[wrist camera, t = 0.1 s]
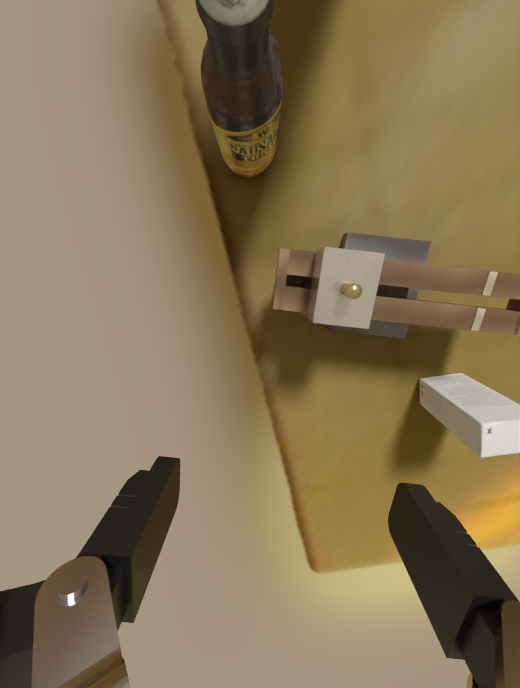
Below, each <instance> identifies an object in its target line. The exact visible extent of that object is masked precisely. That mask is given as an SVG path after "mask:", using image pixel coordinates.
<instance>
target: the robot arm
mask: <svg viewBox="0 0 520 688" xmlns="http://www.w3.org/2000/svg"><path fill="white" fill-rule="evenodd" d="M179 486H180V459H179V458H172V457H162V456H159V457H158V458H157V459H156V461H155V462H154V464H153V466H152V468H151V469H150V471H146V470H140V471H138V472H137V473H136V474H135V475H133V476H132V477H131V478H130V479H128V480H127V482H126V483H125V484H124V486H123V488H122V489H121V491H120V492H119V495H118V496H117V497H116V498H115V500H114V501H113V503H112V505H111V507H110V508H109V509H108V510H107V512H106V514H105V515H104V517H103V518H102V520H101V521H100V523H99V524H98V526H97V527H96V529H95V530H94V532H93V533H92V535H91V536H90V538H89V539H88V541H87V543H86V544H85V546H84V547H83V549H82V550H81V552H80V553H79V554H78V556H77V557H76V558H75V559H73V560H70V561H68V562H66V563H65V564H63V565H62V566H60V567H59V568H57V569H56V570H55V571H54V572H53V573H52V574H51V575H50V576H49V577H48V578H47V579H46V580H44V581H41V582H38V583H35V584H31V585H27V586H22V587H18V588H14V589H9V590H5V591H0V688H130V686H129V680H128V675H127V670H126V665H125V661H124V659H123V658H122V654H121V649H120V643H119V638H118V632H117V631H118V629H119V627H120V624H121V622H130V623H134V620H135V618H136V615H137V612H138V609H139V607H140V604H141V601H142V599H143V596H144V594H145V591H146V588H147V586H148V583H149V580H150V578H151V575H152V572H153V570H154V567H155V564H156V562H157V559H158V556H159V554H160V551H161V548H162V546H163V543H164V540H165V538H166V535H167V533H168V530H169V527H170V525H171V522H172V519H173V517H174V514H175V511H176V508H177V504H178V499H179V490H180V488H179ZM388 525H389V531H390V534H391V537H392V539H393V541H394V543H395V545H396V548H397V550H398V552H399V554H400V556H401V558H402V561H403V563H404V565H405V567H406V569H407V572H408V574H409V576H410V578H411V580H412V583H413V585H414V587H415V589H416V591H417V594H418V596H419V598H420V600H421V602H422V605H423V607H424V609H425V611H426V613H427V615H428V618H429V619H430V622H431V624H432V626H433V629H434V631H435V633H436V635H437V638H438V640H439V641H440V644H441V646H442V648H443V650H444V653H445V655H446V657H447V658H453V659H463V660H465V662H466V664H467V666H468V668H469V670H470V673H469V675H468V678H467V688H520V602H519V600H518V599H517V598H516V597H515V595H514V594H513V592H512V591H511V590H510V589H509V587H508V586H507V584H506V583H505V582H504V581H503V579H502V578H501V576H500V575H499V574H498V572H497V571H496V570H495V568H494V567H493V566H492V564H491V563H490V562H489V560H488V559H487V558H486V556H485V555H484V554H483V552H482V551H481V550H480V548H478V547H477V546H476V543H475V542H474V540H473V539H472V538H471V536H470V535H469V534H467V531H466V530H465V528H464V527H463V526H462V524H461V523H460V522H459V520H458V519H457V518H456V516H455V515H454V514H453V513H451V512H450V511H449V510H448V509H447V508H446V507H444V506H443V505H442V504H441V503H440V502H436V501H435V500H434V499H433V497H432V496H431V494H430V493H429V492H428V490H427V489H426V488H425V487H424V486H423V485H419V484H410V483H399V484H398V485H397V488H396V492H395V495H394V498H393V502H392V505H391V509H390V512H389V516H388Z"/></svg>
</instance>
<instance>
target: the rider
mask: <svg viewBox="0 0 520 688" xmlns="http://www.w3.org/2000/svg"><path fill="white" fill-rule="evenodd" d="M384 257H385V253H377V252H368V251H359V250H350V249H341V248H331V247H323V248H320V249H317V250H316V257H315V263H314V270H313V276H312V283H311V289H310V296H309V303H308V309H307V316H308V318H309V319H310V320H311V321H312V323H318V324H328V325H337V326H346V327H355V328H365V329H369V326H370V321H371V317H372V312H373V307H374V303H375V298H376V293H377V289H378V284H379V280H380V275H381V270H382V266H383V261H384Z"/></svg>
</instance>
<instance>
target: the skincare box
mask: <svg viewBox="0 0 520 688" xmlns="http://www.w3.org/2000/svg"><path fill="white" fill-rule="evenodd" d="M420 405H422V406H423V407H424V408H425V409H426V410H427V411H428V412H430V413H431V414H432V415H433V416H434V417H435V418H436V419H437V420H439V421H440V422H441V423H442V424H443V425H444V426H445V427H446V428H448V429H449V430H450V431H451V432H452V433H453V434H454V435H455V436H457V437H458V438H459V439H460V440H461V441H462V442H463V443H464V444H466V445H467V446H468V447H469V448H470V449H471V450H472V451H473V452H475V453H476V454H477V455H478V456H479V457H481V458H483V457H490V456H498V455H506V454H514V453H520V405H519V404H517V403H516V402H514V401H512V400H510V399H508V398H506V397H505V396H503V395H501V394H499V393H497V392H496V391H494V390H492V389H490V388H488V387H486V386H485V385H483V384H481V383H479V382H477V381H476V380H474V379H472V378H470V377H468V376H467V375H465V374H463V373H456V374H449V375H442V376H435V377H427V378H420Z"/></svg>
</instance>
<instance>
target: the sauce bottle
mask: <svg viewBox="0 0 520 688" xmlns="http://www.w3.org/2000/svg"><path fill="white" fill-rule="evenodd" d="M196 7H197V11H198V14H199V16H200V18H201V20H202V22H203V24H204V25H205V27H206V31H207V36H208V40H207V42H206V45H205V47H204V50H203V56H202V62H201V76H202V85H203V91H204V94H205V98H206V104H207V109H208V112H209V115H210V118H211V121H212V125H213V128H214V132H215V135H216V138H217V141H218V144H219V148H220V151H221V154H222V156H223V159H224V161H225V162H226V164H227V166H228V167H229V168H230V170H231V171H233V172H234V173H235V174H237V175H239V176H241V177H254V176H257V175H259V174H262V173H263V171H265V169H266V168H267V167H268V166H269V164H270V163H271V161H272V159H273V157H274V154H275V149H276V142H277V135H278V126H279V118H280V111H281V104H282V96H283V84H282V72H281V61H280V49H279V44H278V41H277V40H275V39H274V37H273V36H272V35H271V34H270V27H269V26H270V18H271V16H272V13H273V9H274V0H196Z"/></svg>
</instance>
